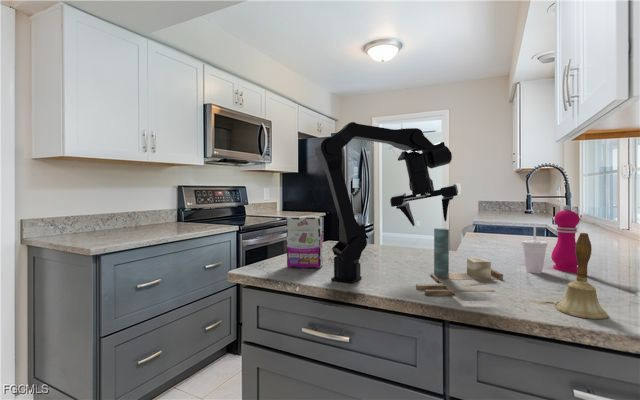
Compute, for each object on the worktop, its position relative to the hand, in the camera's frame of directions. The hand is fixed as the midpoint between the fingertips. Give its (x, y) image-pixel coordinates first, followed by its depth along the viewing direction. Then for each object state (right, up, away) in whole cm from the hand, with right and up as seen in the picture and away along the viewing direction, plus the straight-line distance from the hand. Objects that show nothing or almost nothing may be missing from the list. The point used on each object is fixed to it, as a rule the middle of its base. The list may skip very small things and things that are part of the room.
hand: (429, 223), depth 99 cm
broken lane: (+1, -15, -18) cm, 23 cm away
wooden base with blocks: (+7, -15, -7) cm, 18 cm away
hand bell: (+20, -16, -31) cm, 41 cm away
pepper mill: (+40, -15, 0) cm, 43 cm away
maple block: (+11, -14, -8) cm, 19 cm away
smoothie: (+29, -15, -3) cm, 33 cm away
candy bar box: (-37, -15, +10) cm, 41 cm away
